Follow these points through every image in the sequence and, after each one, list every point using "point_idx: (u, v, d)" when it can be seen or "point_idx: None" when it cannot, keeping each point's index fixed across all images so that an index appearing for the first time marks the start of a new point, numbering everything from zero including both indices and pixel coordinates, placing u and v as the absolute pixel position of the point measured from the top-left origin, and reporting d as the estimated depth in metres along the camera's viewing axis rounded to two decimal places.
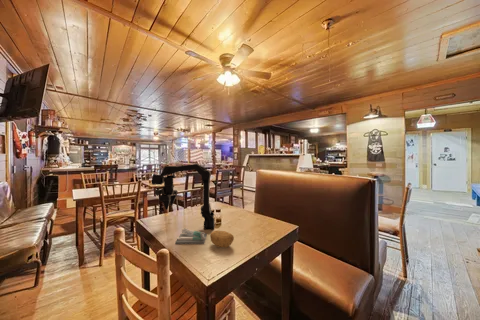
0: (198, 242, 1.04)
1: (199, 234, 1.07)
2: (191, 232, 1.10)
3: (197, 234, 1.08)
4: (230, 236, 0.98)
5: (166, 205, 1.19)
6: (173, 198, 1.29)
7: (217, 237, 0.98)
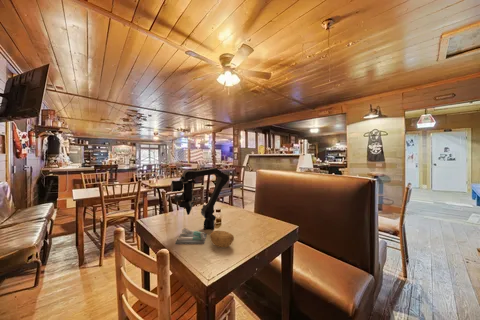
0: (198, 242, 1.04)
1: (199, 234, 1.07)
2: (191, 232, 1.10)
3: (197, 234, 1.08)
4: (230, 236, 0.98)
5: (188, 210, 1.17)
6: None
7: (217, 237, 0.98)
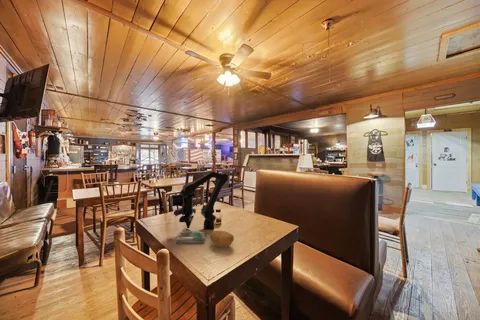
0: (198, 242, 1.04)
1: (199, 234, 1.07)
2: (191, 232, 1.10)
3: (197, 234, 1.08)
4: (230, 236, 0.98)
5: (188, 224, 1.17)
6: (190, 220, 1.18)
7: (217, 237, 0.98)
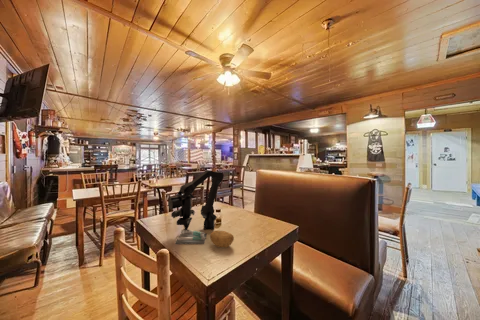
0: (198, 242, 1.04)
1: (199, 234, 1.07)
2: (191, 232, 1.10)
3: (197, 234, 1.08)
4: (230, 236, 0.98)
5: (186, 226, 1.13)
6: (188, 222, 1.14)
7: (217, 237, 0.98)
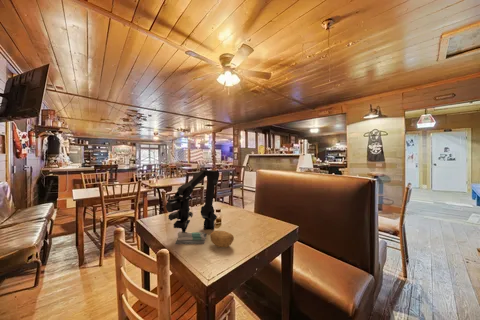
0: (198, 242, 1.04)
1: (199, 234, 1.07)
2: (189, 234, 1.07)
3: (196, 235, 1.07)
4: (230, 236, 0.98)
5: (183, 229, 1.09)
6: (186, 225, 1.10)
7: (217, 237, 0.98)
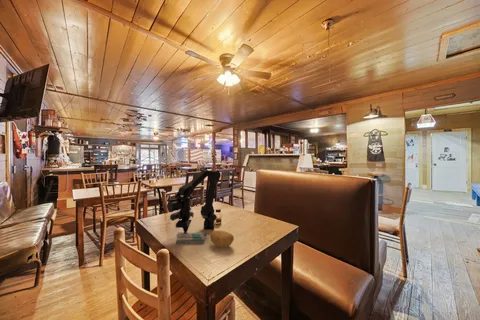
0: (198, 242, 1.04)
1: (199, 234, 1.06)
2: (189, 235, 1.06)
3: (196, 235, 1.06)
4: (230, 236, 0.98)
5: (185, 229, 1.10)
6: None
7: (217, 237, 0.98)
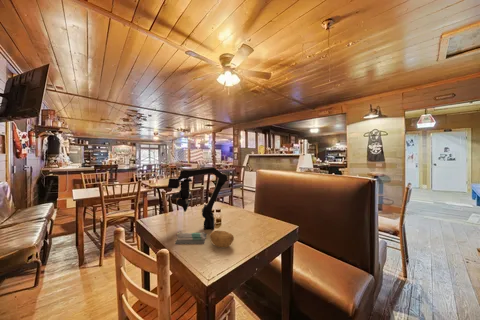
0: (198, 242, 1.04)
1: (199, 234, 1.06)
2: (189, 235, 1.06)
3: (196, 235, 1.06)
4: (230, 236, 0.98)
5: (185, 207, 1.22)
6: (187, 204, 1.24)
7: (217, 237, 0.98)
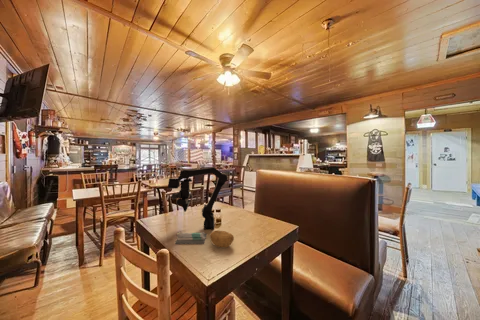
0: (198, 242, 1.04)
1: (199, 234, 1.06)
2: (189, 235, 1.06)
3: (196, 235, 1.06)
4: (230, 236, 0.98)
5: (185, 207, 1.22)
6: (187, 203, 1.24)
7: (217, 237, 0.98)
